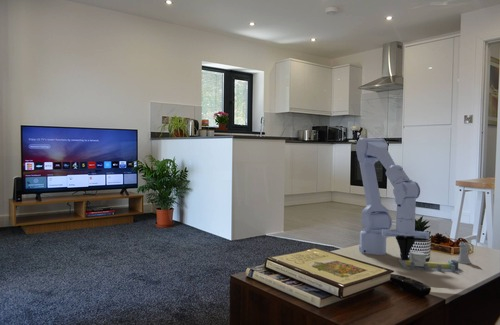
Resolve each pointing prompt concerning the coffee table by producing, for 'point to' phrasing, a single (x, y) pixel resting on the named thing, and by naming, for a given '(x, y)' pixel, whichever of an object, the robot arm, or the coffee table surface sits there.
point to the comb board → (432, 266)
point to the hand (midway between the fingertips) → (404, 258)
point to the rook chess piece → (463, 253)
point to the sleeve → (417, 258)
